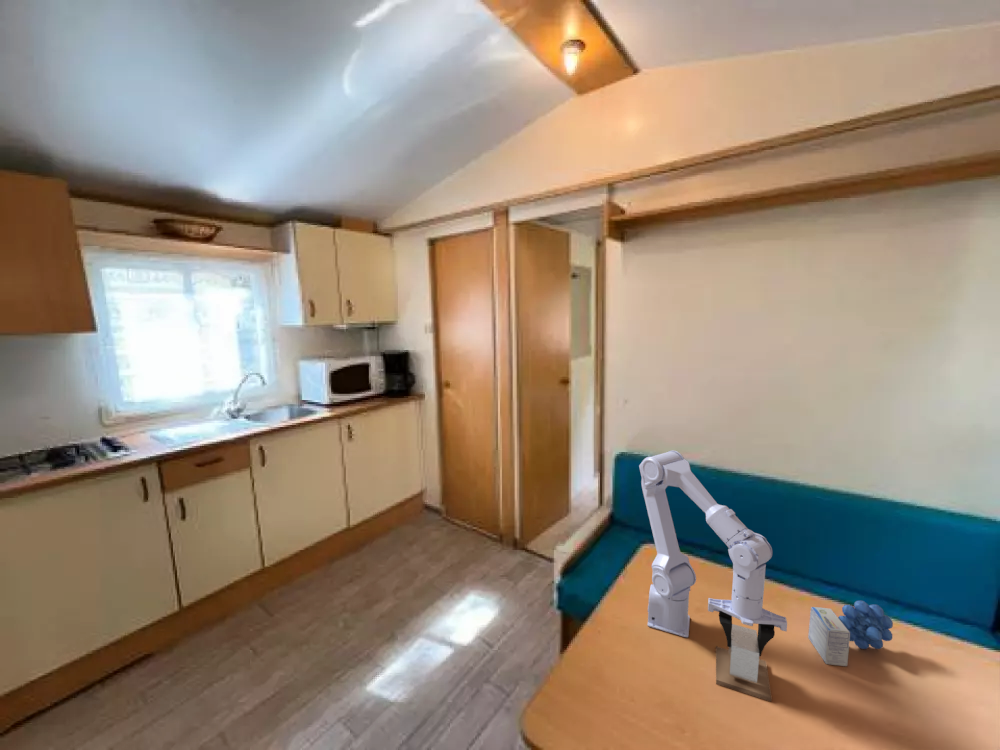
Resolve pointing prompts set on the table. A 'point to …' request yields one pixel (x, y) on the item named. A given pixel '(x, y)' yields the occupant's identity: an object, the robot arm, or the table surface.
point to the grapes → (866, 624)
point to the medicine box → (829, 636)
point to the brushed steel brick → (744, 653)
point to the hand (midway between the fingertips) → (743, 648)
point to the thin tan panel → (739, 684)
